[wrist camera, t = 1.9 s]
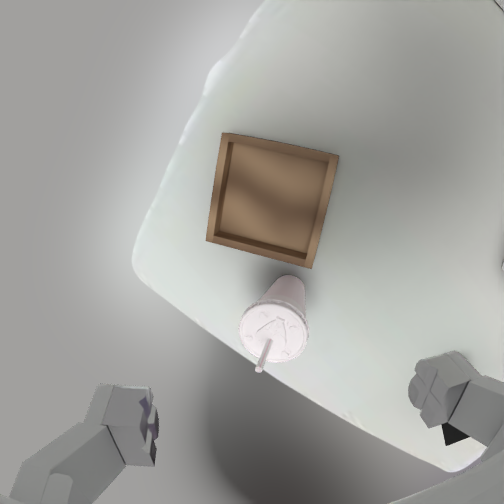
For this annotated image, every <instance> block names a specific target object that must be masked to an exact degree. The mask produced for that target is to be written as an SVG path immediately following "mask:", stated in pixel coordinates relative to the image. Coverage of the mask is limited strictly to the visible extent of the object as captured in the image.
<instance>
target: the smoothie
mask: <svg viewBox="0 0 504 504" xmlns="http://www.w3.org/2000/svg"><path fill="white" fill-rule="evenodd" d="M239 337H240V340H241V342H242V344H243V345H244V347H245V348H246V349H247V350H248V351H249V352H250V353H251V354H252V355H254V356H255V357H257V358H259V361H258V363H257V366H256V368H255V370H256V372H262V369H263V367H264V364H265V361H267V362H273V363H281V362H286V361H290V360H292V359H294V358H296V357H297V356H299V355H300V354H301V353H302V351H303V350H304V348H305V346H306V344H307V341H308V338H309V326H308V322H307V320H306V307H305V286H304V284H303V282H302V281H301V280H300V279H299V278H297V277H295V276H293V275H284V276H281V277H279V278H278V279H277V280H276V281H275V282H274V283H273V285H272V286H271V287H270V288H269V289H268V290H267V292H266V293H265V294H264V295H263V296H262V297H261V298H260V300H259V301H258V302H256V303H254V304H252V305H251V306H249V307H248V308H247V309H246V310H245V312H244V314H243V315H242V318H241V320H240V323H239Z"/></svg>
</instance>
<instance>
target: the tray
mask: <svg viewBox="0 0 504 504" xmlns="http://www.w3.org/2000/svg"><path fill="white" fill-rule="evenodd" d="M338 159H339V156H338V155H334V154H330V153H326V152H322V151H318V150H313V149H309V148H305V147H300V146H295V145H291V144H286V143H281V142H276V141H271V140H266V139H260V138H255V137H249V136H244V135H238V134H232V133H222V136H221V142H220V148H219V154H218V160H217V166H216V173H215V179H214V186H213V192H212V199H211V206H210V213H209V220H208V227H207V234H206V241H208V242H212V243H216V244H220V245H223V246H227V247H231V248H235V249H238V250H242V251H246V252H250V253H253V254H257V255H261V256H265V257H268V258H272V259H276V260H280V261H283V262H287V263H291V264H295V265H298V266H302V267H306V268H310V269H312V265H313V261H314V258H315V254H316V250H317V246H318V242H319V239H320V235H321V231H322V227H323V223H324V219H325V215H326V211H327V206H328V202H329V198H330V194H331V190H332V185H333V181H334V177H335V172H336V168H337V163H338Z"/></svg>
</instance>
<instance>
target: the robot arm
mask: <svg viewBox="0 0 504 504" xmlns="http://www.w3.org/2000/svg"><path fill="white" fill-rule="evenodd" d="M495 1H496V2H497V3H498V5H499V6H500V7H501V8H502V9H503V10H504V0H495ZM415 372H416V375H415V376H414V377H413V378H412V379H411V381H410V384H409V387H408V392H409V398H410V401H411V403H412V404H413V406H414V407H416V408H418V409H420V416H421V418H422V419H423V421H424V422H425V424H426V425H427V427H428V428H432V427H435V426H438V425H441V424H444V423H446V422H448V423H449V424H451V425H452V426H454V427H455V428H457V429H459V430H460V431H462V432H464V433H465V434H467V435H468V436H470V437H472V438H473V439H475V440H477V441H478V442H480V443H482V444H483V445H485V446H487V448H486V449H485V451H484V452H483V454H482V455H481V458H480V459H481V461H482V463H480V464H478V465H476V466H474V467H472V468H470V469H469V470H467V471H465V472H463V473H461V474H459V475H457V476H455V477H453V478H450V479H448V480H446V481H444V482H442V483H440V484H437V485H435V486H433V487H431V488H428V489H426V490H423V491H421V492H418V493H416V494H413V495H410V496H408V497H405V498H402V499H400V500H397V501H394V502H391V503H388V504H504V382H501V381H499V380H496V379H493V378H491V377H488V376H482V375H481V374H480V373H479V372H478V371H477V370H476V369H475V368H474V367H473V366H472V365H471V364H470V363H469V362H468V361H467V360H466V359H465V358H464V357H463V356H462V355H461V354H460V353H459V352H457V351H451V352H448V353H444V354H441V355H437V356H433V357H430V358H426V359H421V360H420V361H419V362H418V363H417V364H416V367H415ZM152 402H153V393H152V390H151V388H150V387H145V386H128V385H111V384H101V383H100V384H99V385H98V386H97V388H96V390H95V393H94V395H93V398H92V401H91V403H90V406H89V409H88V411H87V415H86V417H85V420H84V423H77V424H76V425H75V426H73V427H72V428H70V429H69V430H68V431H67V432H65V433H64V434H62V435H61V436H59V437H58V438H57V439H55V440H54V441H52V442H51V443H49V444H48V445H47V446H45V447H44V448H42V449H41V450H40V451H38V452H37V453H35V454H34V455H32V456H31V457H30V458H28V459H27V460H25V461H24V462H23V463H22V465H21V467H20V470H19V472H18V475H17V478H16V480H15V483H14V485H13V488H12V490H11V493H10V496H9V497H6V496H4V495H1V494H0V504H92V503H93V502H94V501H95V500H96V499H97V498H98V497H99V496H100V495H101V494H102V493H103V491H104V490H105V489H106V488H107V487H108V486H109V485H110V484H111V483H112V482H113V480H114V479H115V478H116V477H117V476H118V475H119V474H120V473H121V471H122V470H123V469H124V468H125V467H126V466H125V465H134V466H152V467H154V466H155V458H156V450H157V448H156V446H155V443H154V440H155V439H157V438H158V433H159V418H158V412H157V409H156V407H155V406H154V405H153V404H152Z"/></svg>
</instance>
